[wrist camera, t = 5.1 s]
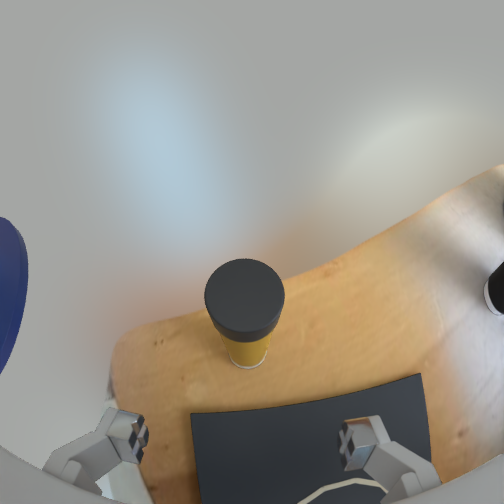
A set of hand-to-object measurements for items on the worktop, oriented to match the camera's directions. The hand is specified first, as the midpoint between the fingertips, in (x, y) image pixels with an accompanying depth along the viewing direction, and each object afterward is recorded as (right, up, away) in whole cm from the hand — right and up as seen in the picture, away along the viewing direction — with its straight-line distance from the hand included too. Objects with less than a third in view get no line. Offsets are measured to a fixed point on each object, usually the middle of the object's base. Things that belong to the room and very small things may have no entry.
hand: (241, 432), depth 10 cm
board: (+7, -14, +5) cm, 17 cm away
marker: (0, -1, +13) cm, 13 cm away
